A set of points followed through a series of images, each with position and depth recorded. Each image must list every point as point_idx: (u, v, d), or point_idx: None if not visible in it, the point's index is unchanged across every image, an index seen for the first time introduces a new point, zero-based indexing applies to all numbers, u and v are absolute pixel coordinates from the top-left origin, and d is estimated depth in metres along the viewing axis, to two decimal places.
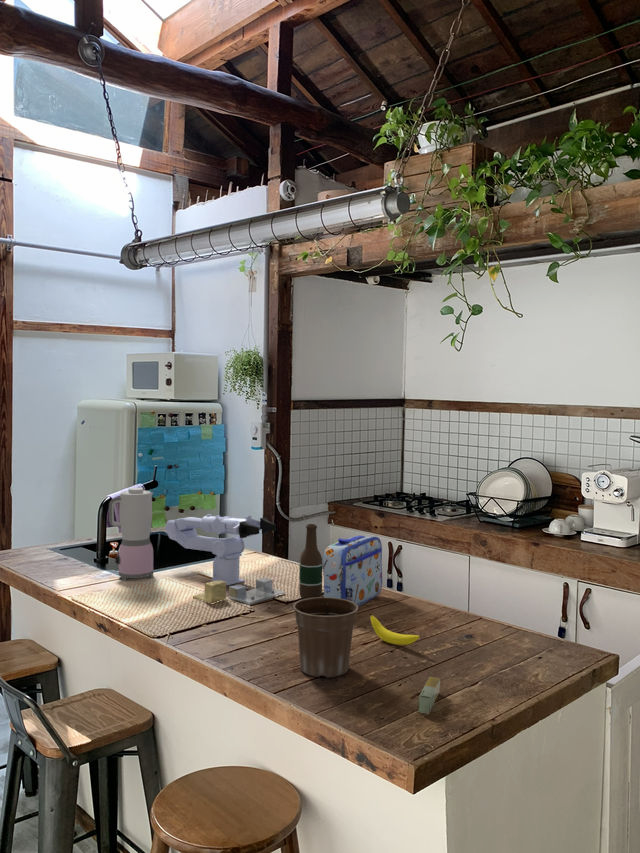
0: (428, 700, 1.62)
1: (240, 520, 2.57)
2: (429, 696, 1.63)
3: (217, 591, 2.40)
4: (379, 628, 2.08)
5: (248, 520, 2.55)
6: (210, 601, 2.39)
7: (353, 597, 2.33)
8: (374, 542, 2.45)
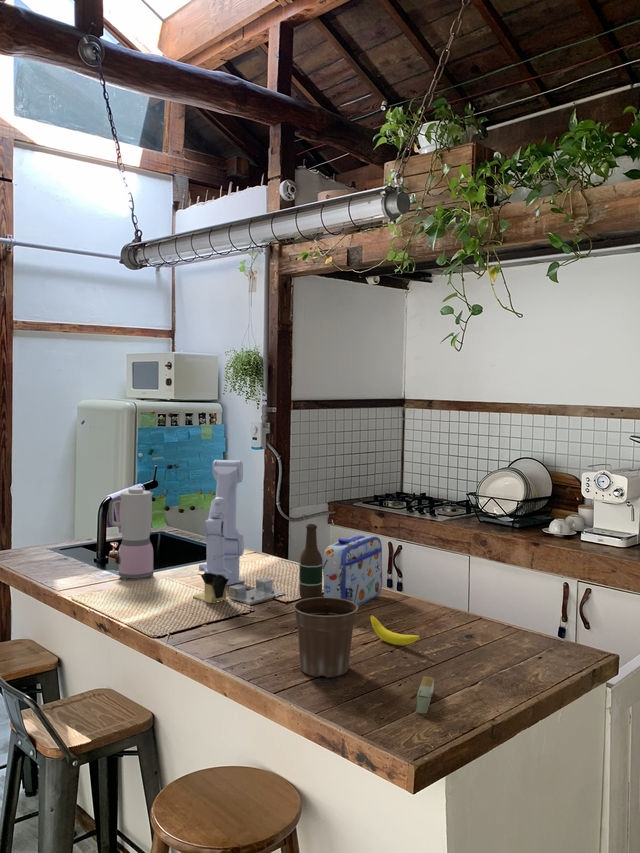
0: (426, 700, 1.62)
1: None
2: (426, 696, 1.63)
3: None
4: (379, 628, 2.08)
5: None
6: (210, 601, 2.39)
7: (353, 597, 2.33)
8: (374, 542, 2.45)
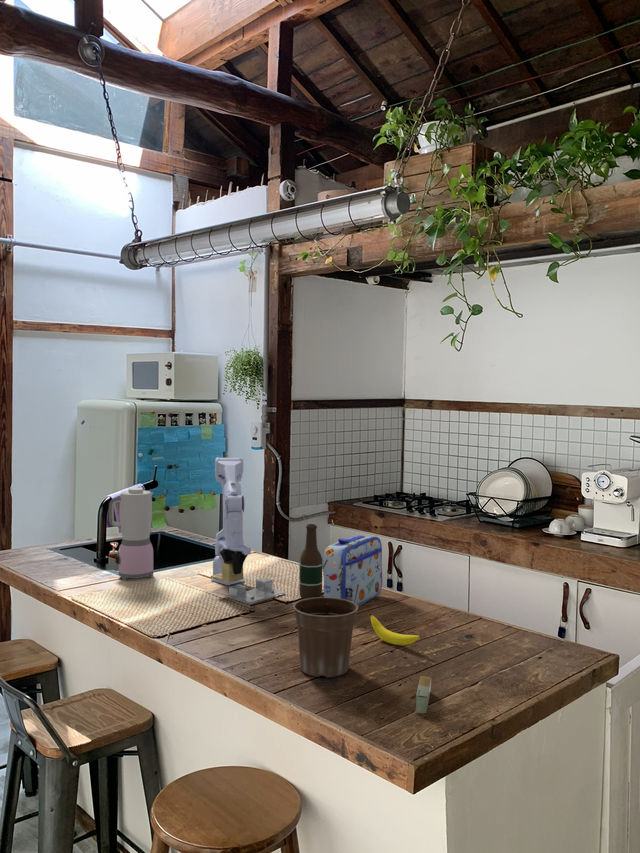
0: (425, 700, 1.63)
1: (225, 538, 2.43)
2: (426, 696, 1.63)
3: None
4: (379, 628, 2.08)
5: None
6: (228, 580, 2.42)
7: (353, 597, 2.33)
8: (374, 542, 2.45)
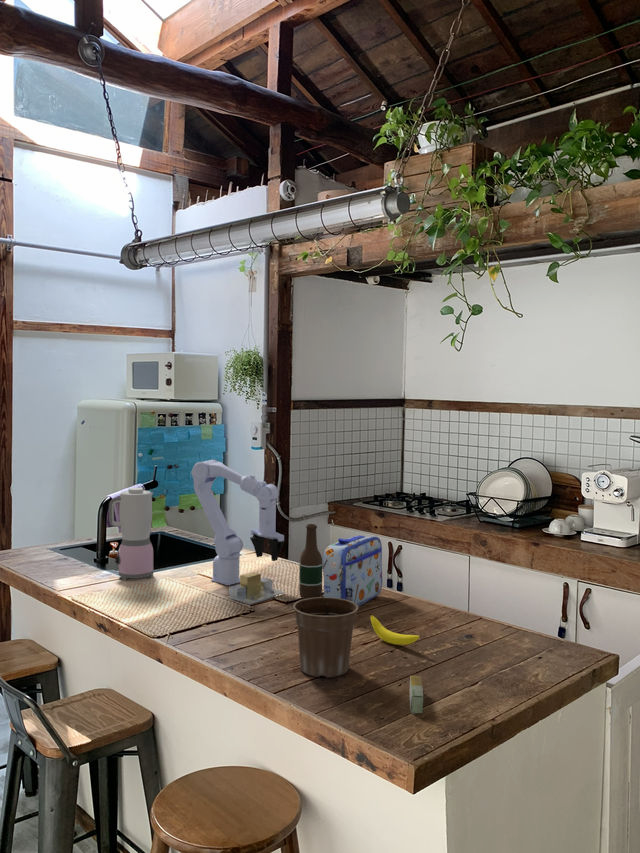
0: (421, 699, 1.63)
1: (259, 525, 2.56)
2: (421, 695, 1.63)
3: (253, 582, 2.47)
4: (379, 628, 2.08)
5: None
6: (246, 592, 2.46)
7: (353, 597, 2.33)
8: (374, 542, 2.45)
